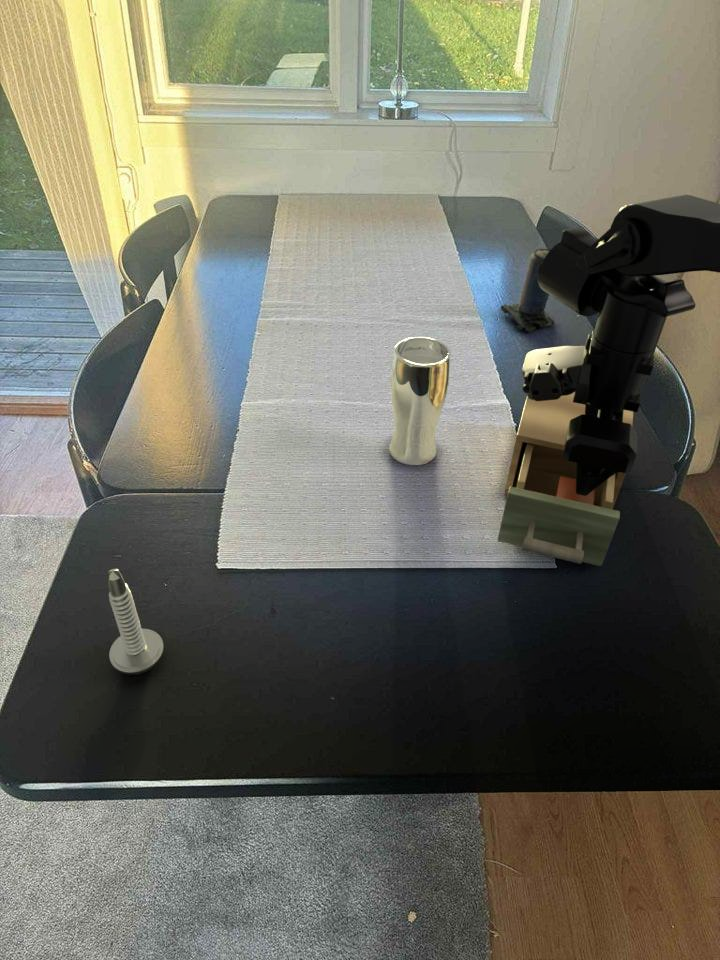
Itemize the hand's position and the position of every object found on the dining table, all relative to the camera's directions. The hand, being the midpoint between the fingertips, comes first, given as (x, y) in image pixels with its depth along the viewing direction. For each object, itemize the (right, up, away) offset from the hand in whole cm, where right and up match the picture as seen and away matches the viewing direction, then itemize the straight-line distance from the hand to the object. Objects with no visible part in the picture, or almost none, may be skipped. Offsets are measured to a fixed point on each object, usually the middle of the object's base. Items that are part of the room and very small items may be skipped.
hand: (584, 467), depth 75 cm
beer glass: (-17, +2, +17) cm, 24 cm away
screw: (-45, -19, -9) cm, 49 cm away
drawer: (-2, -7, +5) cm, 9 cm away
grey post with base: (+4, +26, +45) cm, 52 cm away
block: (0, -6, +5) cm, 8 cm away
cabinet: (+2, 0, +14) cm, 15 cm away
